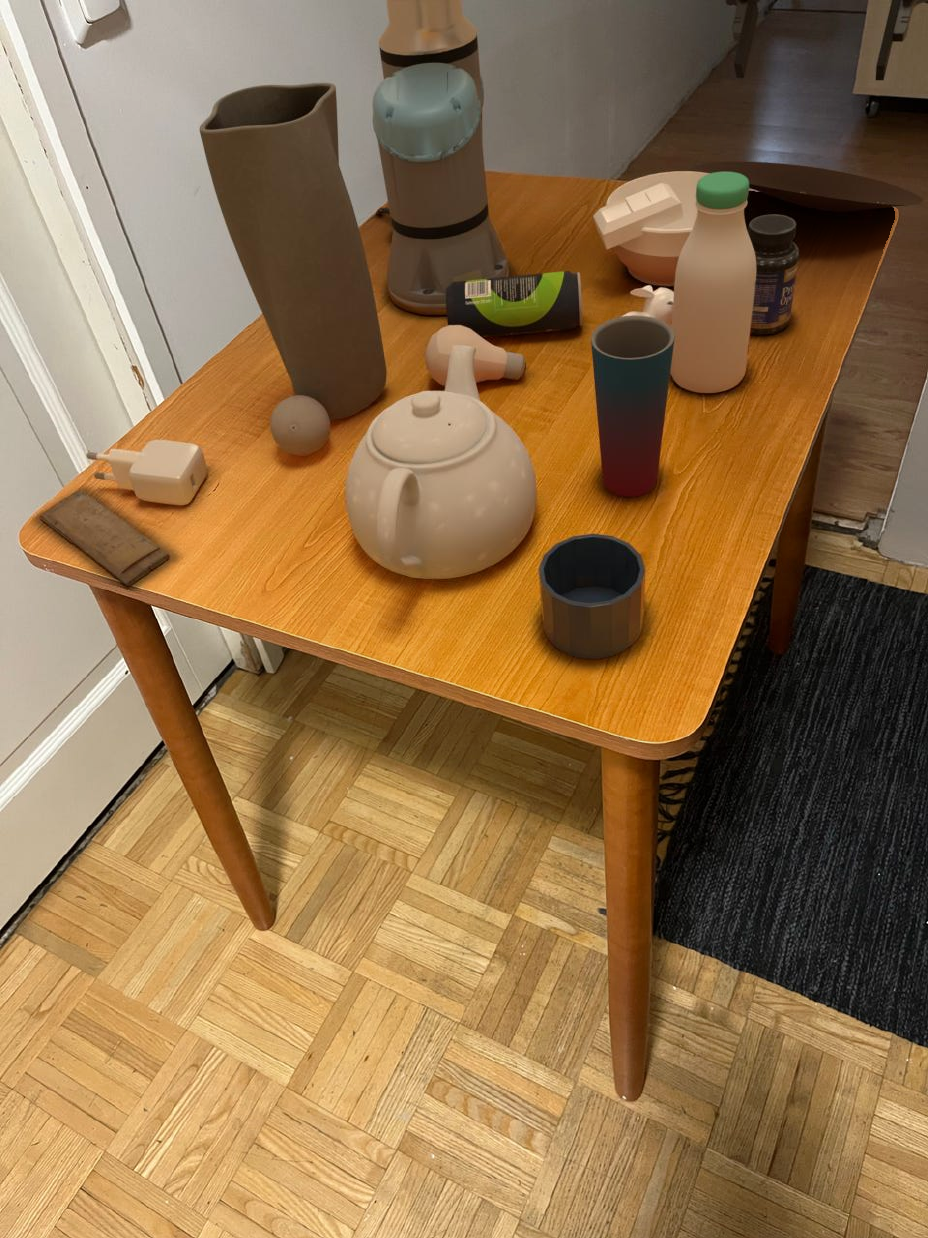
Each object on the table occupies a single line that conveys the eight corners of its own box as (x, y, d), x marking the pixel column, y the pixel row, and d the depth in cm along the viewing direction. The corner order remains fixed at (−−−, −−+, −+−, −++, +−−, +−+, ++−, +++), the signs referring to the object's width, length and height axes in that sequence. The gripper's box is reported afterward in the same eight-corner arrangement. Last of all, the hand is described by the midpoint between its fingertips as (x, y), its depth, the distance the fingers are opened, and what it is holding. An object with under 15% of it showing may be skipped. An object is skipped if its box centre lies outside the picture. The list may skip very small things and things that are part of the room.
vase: (411, 371, 106) (359, 77, 84) (371, 437, 98) (302, 131, 76) (311, 364, 109) (237, 79, 87) (265, 426, 101) (171, 131, 80)
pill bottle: (787, 337, 102) (802, 238, 94) (729, 335, 104) (739, 237, 96) (790, 308, 106) (805, 210, 98) (734, 306, 108) (744, 210, 100)
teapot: (314, 512, 91) (278, 390, 81) (480, 440, 96) (465, 317, 86) (401, 630, 79) (371, 504, 69) (585, 541, 84) (582, 411, 74)
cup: (673, 462, 90) (681, 317, 79) (659, 508, 86) (666, 362, 75) (602, 454, 92) (601, 312, 81) (585, 498, 88) (581, 355, 77)
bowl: (765, 251, 115) (773, 185, 109) (693, 310, 108) (698, 242, 102) (653, 223, 123) (655, 161, 118) (579, 276, 116) (578, 212, 110)
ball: (318, 463, 100) (345, 413, 98) (305, 470, 94) (334, 417, 92) (268, 433, 99) (295, 382, 98) (252, 437, 93) (281, 384, 92)
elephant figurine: (692, 265, 95) (678, 250, 100) (588, 331, 98) (579, 314, 104) (722, 326, 99) (706, 309, 104) (620, 388, 102) (610, 368, 107)
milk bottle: (745, 396, 96) (768, 197, 81) (667, 394, 97) (676, 200, 83) (745, 354, 101) (767, 160, 86) (671, 354, 102) (681, 163, 88)
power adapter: (112, 463, 99) (86, 499, 95) (98, 425, 96) (71, 461, 92) (212, 475, 98) (190, 513, 94) (202, 437, 94) (179, 475, 90)
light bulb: (533, 323, 101) (431, 306, 100) (532, 367, 97) (426, 350, 96) (520, 368, 106) (423, 353, 105) (519, 411, 103) (418, 396, 102)
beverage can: (448, 343, 106) (583, 331, 105) (443, 285, 104) (580, 271, 102) (453, 335, 112) (581, 324, 110) (448, 280, 110) (578, 267, 108)
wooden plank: (83, 494, 98) (42, 522, 96) (78, 485, 97) (35, 512, 95) (171, 557, 88) (127, 589, 86) (166, 547, 87) (121, 579, 85)
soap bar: (683, 217, 106) (679, 195, 104) (606, 249, 107) (601, 227, 105) (671, 199, 109) (667, 177, 107) (597, 230, 110) (591, 209, 109)
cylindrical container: (525, 611, 79) (520, 558, 74) (607, 574, 81) (607, 520, 76) (576, 674, 73) (573, 621, 69) (662, 633, 75) (665, 579, 71)
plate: (722, 156, 134) (732, 128, 132) (918, 218, 126) (932, 189, 124) (663, 174, 113) (673, 141, 110) (895, 250, 105) (911, 216, 103)
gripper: (994, -132, 92) (939, 93, 94) (734, -117, 101) (689, 88, 103) (1006, -193, 85) (947, 52, 87) (726, -171, 94) (678, 50, 96)
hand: (807, 72), depth 95 cm, fingers open, 13 cm apart
